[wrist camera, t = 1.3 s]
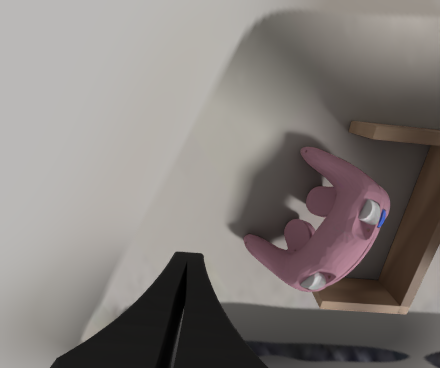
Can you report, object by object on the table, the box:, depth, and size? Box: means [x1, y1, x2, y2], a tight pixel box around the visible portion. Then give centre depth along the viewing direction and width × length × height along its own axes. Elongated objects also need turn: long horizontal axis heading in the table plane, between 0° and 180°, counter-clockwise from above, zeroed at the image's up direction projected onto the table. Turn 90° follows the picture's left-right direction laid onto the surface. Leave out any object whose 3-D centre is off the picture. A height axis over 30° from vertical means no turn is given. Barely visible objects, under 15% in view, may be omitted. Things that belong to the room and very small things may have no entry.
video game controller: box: [244, 147, 390, 292], centre depth 18 cm, size 10×5×7 cm, turn 152°
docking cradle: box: [312, 121, 440, 314], centre depth 19 cm, size 7×15×3 cm, turn 174°
